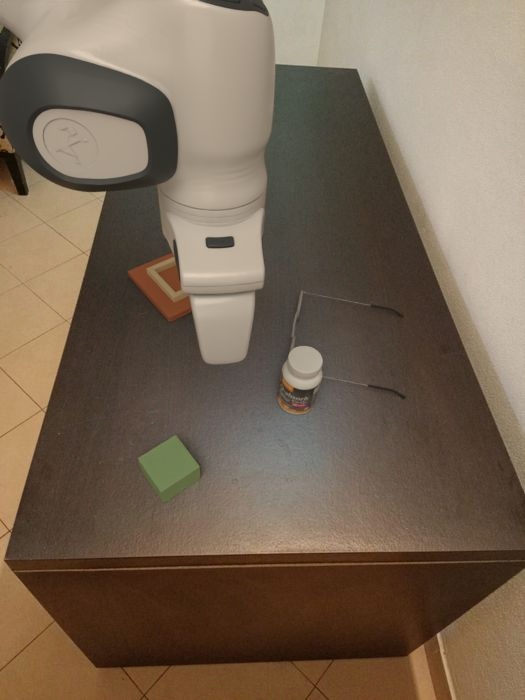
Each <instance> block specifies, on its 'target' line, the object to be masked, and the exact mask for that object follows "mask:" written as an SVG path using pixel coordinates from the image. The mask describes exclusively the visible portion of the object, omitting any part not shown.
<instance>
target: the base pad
mask: <svg viewBox="0 0 525 700" xmlns="http://www.w3.org/2000/svg"><path fill="white" fill-rule="evenodd" d="M127 276H128V277H129V278H130V280H131V281H132V282H133V283H134V284H135V285H136V287H137V288H138V289H139V290H140V291H141V292H142V293H143V294H144V295H145V296H146V298H147V299H148V300H149V301H150V302H151V303H152V304H153V306H154V307H155V308H156V309H157V310H158V311H159V312H160V313H161V315H162V317H164V318H165V319H166V320H167V321H168V322H169V323H172V322H174V321H177V320H178V319H180V318H182V317H184V316H186V315H188V314H190V313H192V309H191V304H190V299H189V294H186V293H183V292H182V290H181V282H180V281H179V276H178V270H177V265H176V262H175V257H174V255H173V253H172V252H170V253H168V254H165V255H163V256H161V257H158V258H156V259H154V260H151V261H148V262H146V263H144V264H142V265H139V266H137V267H134V268H132V269H130V270H127Z"/></svg>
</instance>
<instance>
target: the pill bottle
mask: <svg viewBox="0 0 525 700" xmlns="http://www.w3.org/2000/svg"><path fill="white" fill-rule="evenodd" d="M289 352H290V351H289ZM323 363H324V362H323V356H322V355H321V353H320V352H319V351H318V350H317V349H316V348H314V347H312V346H309V345H298V346H295V347H294V349H292V350H291V352H290V353H289V354H288V356H287V359H286V361H285V362H284V363H283V365H282V368H281V373H280V379H279V384H278V389H277V395H276V396H277V397H276V399H277V402H278V405H279V407H281V409H282V410H284V412H286V413H288V414H291V415H295V416H298V415H304V414H307V413H308V412H310V411H311V410H312V409H313V408H314V405H315V403H316V399H317V396H318V393H319V390H320V386H321V383H322V380H323V377H322V376H323V370H322V367H323Z"/></svg>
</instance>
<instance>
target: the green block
mask: <svg viewBox="0 0 525 700" xmlns="http://www.w3.org/2000/svg"><path fill="white" fill-rule="evenodd" d="M137 461H138V465H139V468H140V471H141V472H142V474H143V475H144V477H145V479H146V480H147V482H148V484H150V486H151V488H152V489H153V490H154V492H155V493H156V495H157V496H158V498H159V499H160V500H161V503H162V504H165V503H167V502H169V501H170V500H171V499H173V498H174V497H176V496H177V495H179V494H180V493H182V492H183V491H184V490H186V489H187V488H189V487H190V486H192V485H193V484H195V483H197V482H198V481H200V479H201V478H202V477H201V467H200V465H199V463H198V462H197V461H196V459H195V457H194V456H193V455H192V454H191V452H190V451H189V450H188V449H187V448H186V446H185V445H184V444H183V442H182V441H181V439H180V438H179V437H178V435H176V434H174V435H172V436H170V438H168V439H166V440H164V441H163V442H161V443H160V444H158V445H157V446H155V447H153V448H152V449H149V450H148V451H147V452H145V453H144V454H142V455H140V456H139V457H137Z"/></svg>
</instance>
